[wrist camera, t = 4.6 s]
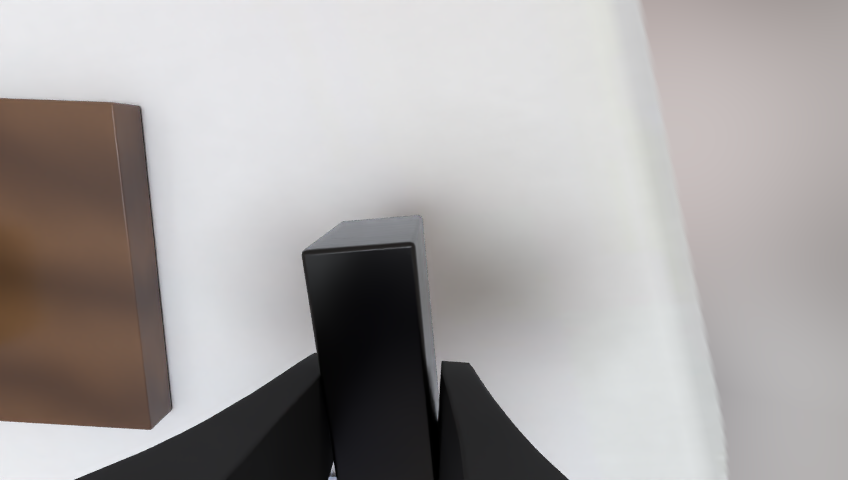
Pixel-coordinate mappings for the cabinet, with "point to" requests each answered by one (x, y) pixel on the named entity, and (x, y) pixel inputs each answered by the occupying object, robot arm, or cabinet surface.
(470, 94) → the cabinet surface
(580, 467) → the cabinet surface
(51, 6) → the cabinet surface
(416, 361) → the knife
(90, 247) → the board
